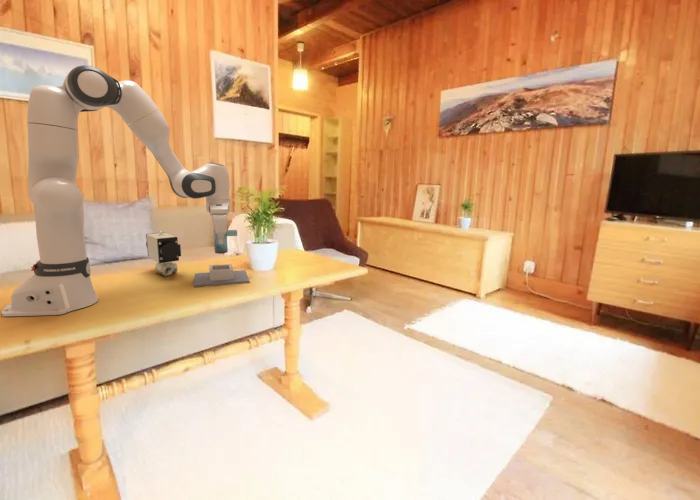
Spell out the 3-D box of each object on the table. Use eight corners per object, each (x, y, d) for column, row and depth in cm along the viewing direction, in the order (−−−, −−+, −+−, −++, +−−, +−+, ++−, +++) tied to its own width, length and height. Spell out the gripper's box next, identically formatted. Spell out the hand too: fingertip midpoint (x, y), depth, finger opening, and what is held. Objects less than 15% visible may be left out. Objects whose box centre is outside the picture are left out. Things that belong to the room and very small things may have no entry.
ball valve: (185, 276, 143) (182, 233, 139) (162, 280, 137) (159, 235, 133) (168, 267, 155) (165, 227, 151) (147, 270, 149) (143, 229, 145)
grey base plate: (193, 287, 131) (192, 274, 130) (194, 275, 145) (194, 263, 144) (249, 282, 138) (249, 270, 137) (245, 271, 153) (245, 261, 152)
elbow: (214, 253, 137) (213, 230, 135) (214, 251, 141) (213, 228, 139) (238, 252, 140) (237, 230, 138) (237, 249, 144) (236, 228, 142)
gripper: (209, 204, 144) (211, 237, 147) (210, 209, 125) (212, 247, 128) (226, 203, 146) (227, 236, 149) (228, 209, 128) (230, 246, 131)
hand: (220, 242), depth 139 cm, fingers closed on elbow, 5 cm apart
